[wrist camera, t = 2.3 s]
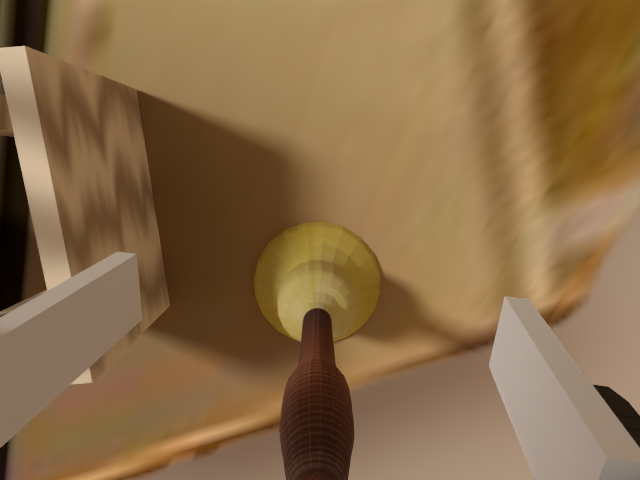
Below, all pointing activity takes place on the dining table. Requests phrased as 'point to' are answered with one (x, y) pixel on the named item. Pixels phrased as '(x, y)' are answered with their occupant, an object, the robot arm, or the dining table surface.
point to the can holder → (83, 177)
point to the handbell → (317, 337)
